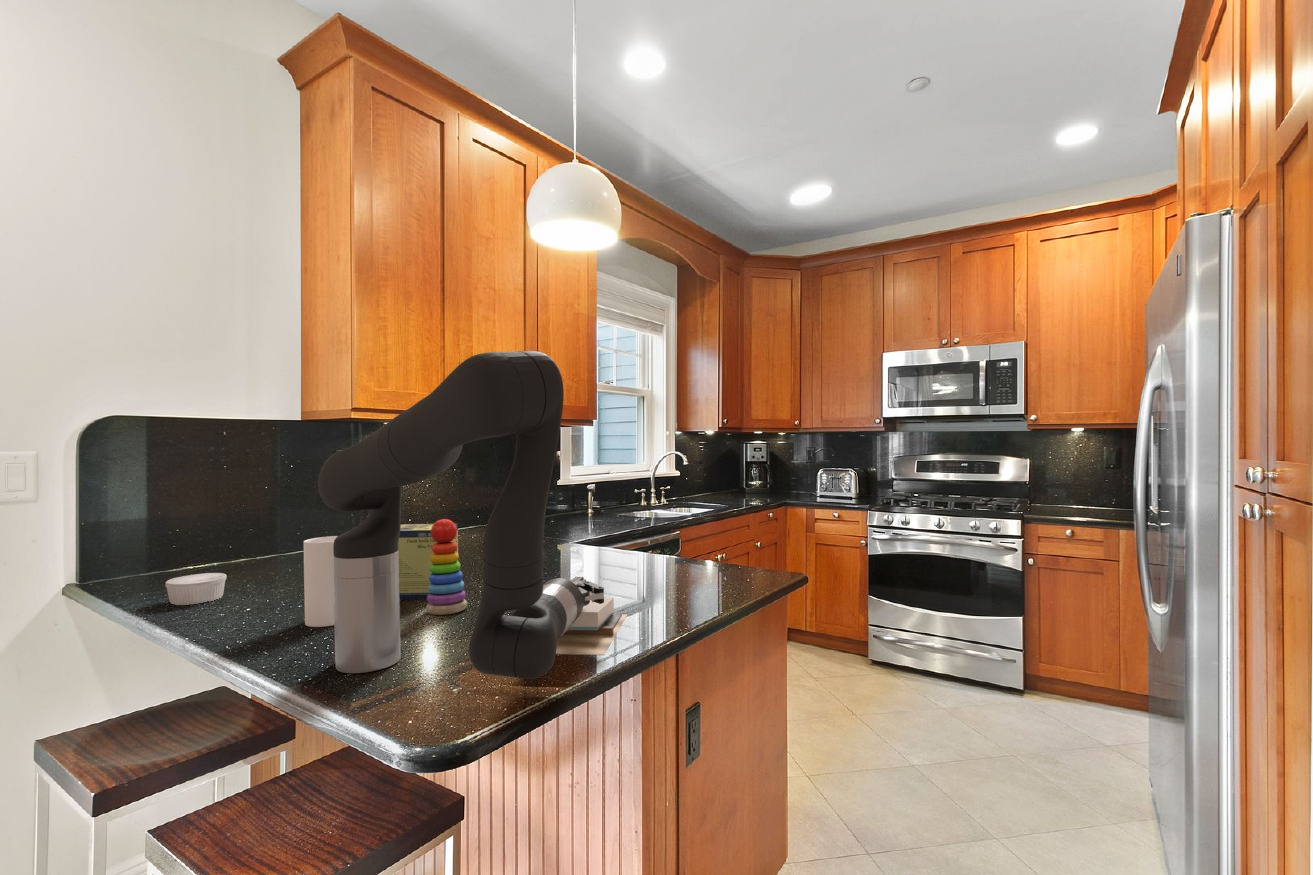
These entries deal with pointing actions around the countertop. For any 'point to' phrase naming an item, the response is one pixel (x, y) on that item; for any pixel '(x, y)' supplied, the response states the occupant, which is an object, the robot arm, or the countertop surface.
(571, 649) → the board
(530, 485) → the robot arm
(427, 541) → the protein box
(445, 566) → the stacking toy
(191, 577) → the ramekin
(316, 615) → the cup
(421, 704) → the countertop surface
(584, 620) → the tile
